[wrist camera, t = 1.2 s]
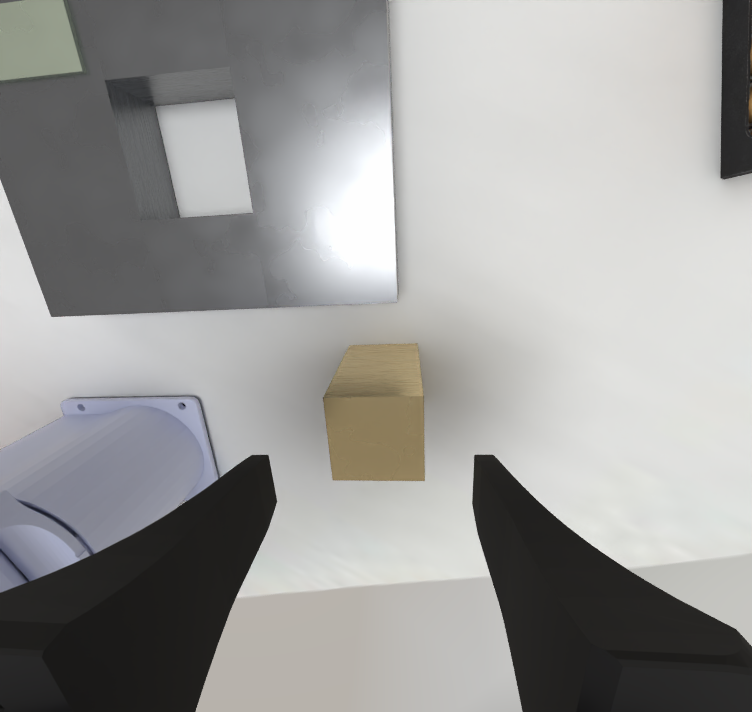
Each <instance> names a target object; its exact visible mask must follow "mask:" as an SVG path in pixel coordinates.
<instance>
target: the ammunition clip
mask: <svg viewBox="0 0 752 712" xmlns="http://www.w3.org/2000/svg"><path fill="white" fill-rule="evenodd" d="M749 173H752V0H723V23H722V106H721V178H722V179H728V178H732V177H736V176H741V175H745V174H749Z"/></svg>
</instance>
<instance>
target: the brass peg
mask: <svg viewBox="0 0 752 712" xmlns="http://www.w3.org/2000/svg"><path fill="white" fill-rule="evenodd" d="M323 401H324V410H325V418H326V427H327V435H328V444H329V452H330V461H331V469H332V478H333V480H376V481H425V468H424V395H423V387H422V378H421V370H420V361H419V352H418V344H417V343H414V344H381V345H349V347H348V349H347V351H346V353H345V355H344V357H343V359H342V361H341V363H340V365H339V367H338V369H337V371H336V373H335V375H334V377H333V379H332V381H331V383H330V385H329V387H328V389H327V391H326V393H325V395H324V397H323Z"/></svg>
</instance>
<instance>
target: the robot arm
mask: <svg viewBox="0 0 752 712" xmlns="http://www.w3.org/2000/svg"><path fill="white" fill-rule="evenodd" d="M182 403H184V404H185V405H186V407H184V406H183V405H182ZM61 409H62V412H63V414H64V416H63V417H61V418H59V419H57V420H55V421H53V422H52V423H50V424H48V425H46V426H44V427H42V428H40V429H38V430H36V431H35V432H33V433H31V434H29V435H27V436H25V437H23V438H21V439H19V440H18V441H16V442H14V443H12V444H10V445H8V446H6V447H4V448H2V449H1V450H0V712H195V711H196V708H197V705H198V701H199V698H200V695H201V692H202V689H203V685H204V683H205V680H206V677H207V674H208V671H209V668H210V665H211V663H212V659H213V657H214V654H215V651H216V648H217V645H218V642H219V640H220V637H221V634H222V632H223V629H224V626H225V623H226V621H227V618H228V615H229V612H230V610H231V608H232V605H233V603H234V601H235V598H236V596H237V594H238V592H239V590H240V587H241V585H242V583H243V581H244V579H245V577H246V575H247V573H248V571H249V569H250V567H251V564H252V562H253V560H254V558H255V556H256V554H257V552H258V550H259V548H260V545H261V543H262V541H263V539H264V537H265V535H266V533H267V530H268V528H269V525H270V522H271V519H272V516H273V513H274V510H275V506H276V503H277V499H276V493H275V488H274V483H273V477H272V472H271V466H270V461H269V456H268V455H251V456H250V457H248V458H247V459H245V460H244V461H242V462H241V463H240V464H238V465H237V466H235V467H234V468H233V469H231V470H230V471H229V472H227V473H226V474H225V475H223V476H222V477H221V478H219V479H218V475H217V471H216V467H215V463H214V459H213V455H212V451H211V447H210V443H209V439H208V435H207V430H206V426H205V422H204V418H203V414H202V410H201V406H200V403H199V401H198V400H197V399H196V398H195V397H134V398H77V399H66V400H64V401H63V402H61ZM183 500H188V501H187V502H185V503H184V504H182V505H181V506H179V505H180V503H181V502H182V501H183ZM472 504H473V510H474V516H475V521H476V526H477V532H478V536H479V539H480V542H481V546H482V549H483V552H484V556H485V559H486V562H487V565H488V569H489V572H490V575H491V578H492V581H493V585H494V588H495V591H496V594H497V598H498V601H499V605H500V608H501V612H502V616H503V620H504V623H505V628H506V633H507V638H508V642H509V647H510V652H511V656H512V661H513V666H514V671H515V676H516V681H517V686H518V691H519V696H520V700H521V706H522V711H523V712H752V646H751V645H750V644H749V643H748V642H747V641H746V640H745V638H744V637H743V636H742V635H741V634H740V633H739V632H738V631H737V630H736V629H734V628H732V627H731V626H729V625H727V624H725V623H723V622H721V621H719V620H717V619H715V618H713V617H711V616H709V615H707V614H705V613H703V612H702V611H700V610H698V609H696V608H694V607H692V606H690V605H688V604H686V603H684V602H682V601H680V600H678V599H676V598H675V597H673V596H671V595H670V594H668V593H666V592H664V591H663V590H661V589H659V588H657V587H655V586H654V585H652V584H651V583H649V582H647V581H645V580H644V579H642V578H641V577H639V576H637V575H636V574H634V573H632V572H631V571H629V570H628V569H626V568H624V567H623V566H621V565H620V564H618V563H617V562H615V561H614V560H612V559H611V558H609V557H608V556H606V555H605V554H603V553H602V552H600V551H599V550H598V549H596V548H595V547H593V546H592V545H591V544H589V543H588V542H587V541H585V540H584V539H583V538H581V537H580V536H579V535H577V534H576V533H575V532H573V531H572V530H571V529H570V528H568V527H567V526H566V525H565V524H563V523H562V522H561V521H560V520H558V519H557V518H556V517H555V516H554V515H553V514H552V513H550V512H549V511H548V510H547V509H546V508H545V507H544V506H543V505H542V504H540V503H539V502H538V501H537V500H536V499H535V498H534V497H533V496H532V495H531V494H530V493H529V492H528V491H527V490H526V489H525V488H524V487H523V486H522V485H521V484H520V483H519V482H518V481H517V480H516V479H515V478H514V477H513V476H512V474H511V473H510V472H509V471H508V470H507V469H506V468H505V467H504V466H503V465H502V464H501V463H500V461H499V460H498V459H497V458H496V457H495V456H494V455H475V456H474V479H473V501H472ZM178 506H179V507H178ZM177 507H178V508H177Z"/></svg>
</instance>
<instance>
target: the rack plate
mask: <svg viewBox="0 0 752 712" xmlns="http://www.w3.org/2000/svg"><path fill="white" fill-rule="evenodd" d="M229 98H235V102H236V108H237V114H238V120H239V127H240V133H241V139H242V145H243V152H244V158H245V164H246V170H247V177H248V183H249V189H250V195H251V202H252V208H253V213H247V214H232V215H217V216H203V217H188V218H180V217H179V213H178V208H177V204H176V200H175V195H174V191H173V186H172V182H171V177H170V173H169V169H168V164H167V160H166V155H165V151H164V146H163V142H162V137H161V133H160V129H159V124H158V120H157V115H156V111H155V106H160V105H169V104H179V103H189V102H199V101H209V100H219V99H229ZM0 179H1V182H2V185H3V188H4V190H5V193H6V196H7V198H8V201H9V204H10V206H11V209H12V212H13V215H14V217H15V220H16V223H17V225H18V228H19V231H20V233H21V236H22V239H23V242H24V244H25V247H26V250H27V252H28V255H29V258H30V260H31V263H32V266H33V268H34V271H35V274H36V277H37V279H38V282H39V285H40V287H41V290H42V293H43V295H44V298H45V301H46V304H47V306H48V309H49V312H50V314H51V317H61V316H85V315H109V314H133V313H157V312H180V311H204V310H228V309H252V308H276V307H300V306H324V305H348V304H372V303H395V302H397V301H398V267H397V238H396V210H395V181H394V153H393V124H392V96H391V67H390V39H389V10H388V0H0Z"/></svg>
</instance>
